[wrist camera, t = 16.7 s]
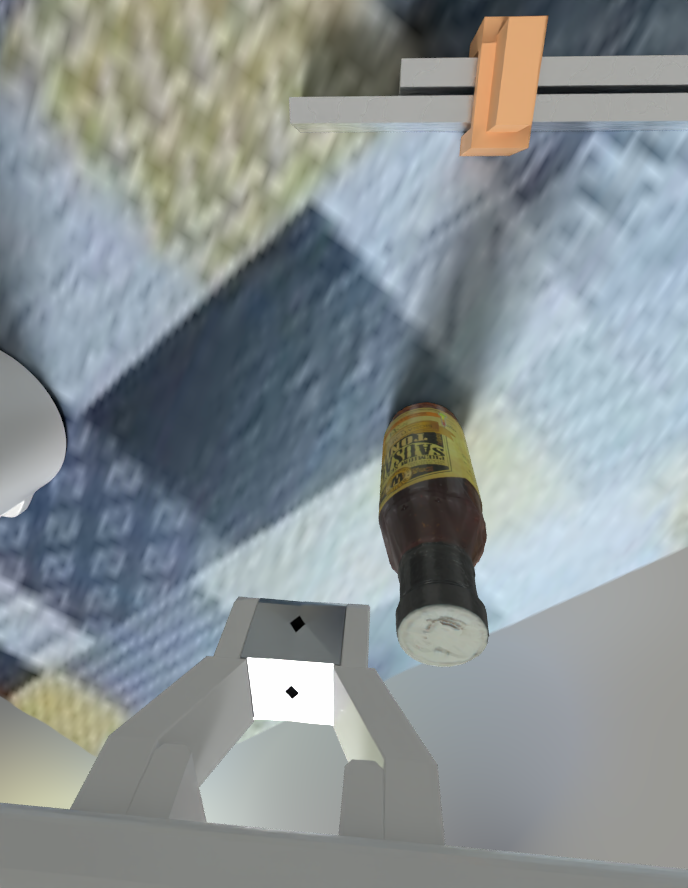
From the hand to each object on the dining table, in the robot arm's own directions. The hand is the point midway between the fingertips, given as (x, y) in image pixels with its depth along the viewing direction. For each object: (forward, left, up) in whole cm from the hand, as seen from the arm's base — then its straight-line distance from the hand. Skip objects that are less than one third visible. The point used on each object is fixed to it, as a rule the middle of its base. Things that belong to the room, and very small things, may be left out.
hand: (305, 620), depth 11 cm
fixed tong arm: (+8, +13, -27) cm, 31 cm away
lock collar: (+7, +14, -27) cm, 31 cm away
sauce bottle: (+5, -8, -27) cm, 29 cm away
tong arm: (+11, +15, -27) cm, 33 cm away
